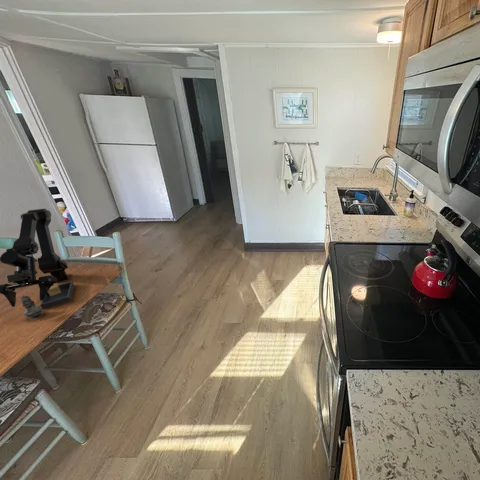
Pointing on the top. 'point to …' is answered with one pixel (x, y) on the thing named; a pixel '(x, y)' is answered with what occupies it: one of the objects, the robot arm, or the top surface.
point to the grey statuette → (31, 308)
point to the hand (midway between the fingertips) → (27, 303)
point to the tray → (58, 296)
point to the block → (54, 290)
